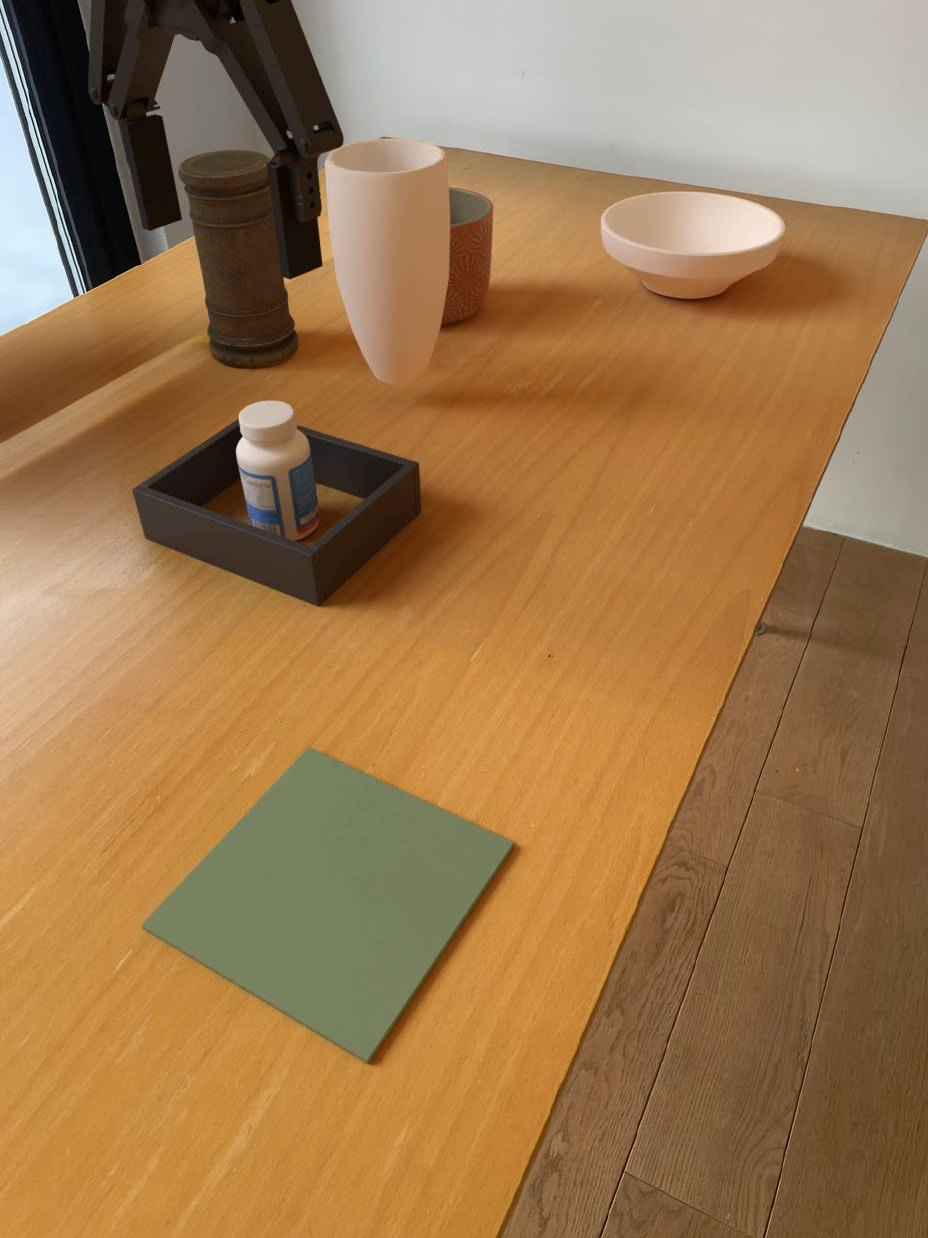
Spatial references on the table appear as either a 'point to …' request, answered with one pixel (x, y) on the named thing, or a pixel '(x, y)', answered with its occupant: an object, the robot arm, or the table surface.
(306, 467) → the pill bottle
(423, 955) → the mat
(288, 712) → the table surface
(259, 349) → the container
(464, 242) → the planter
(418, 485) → the frame
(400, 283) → the cup
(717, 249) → the bowl
